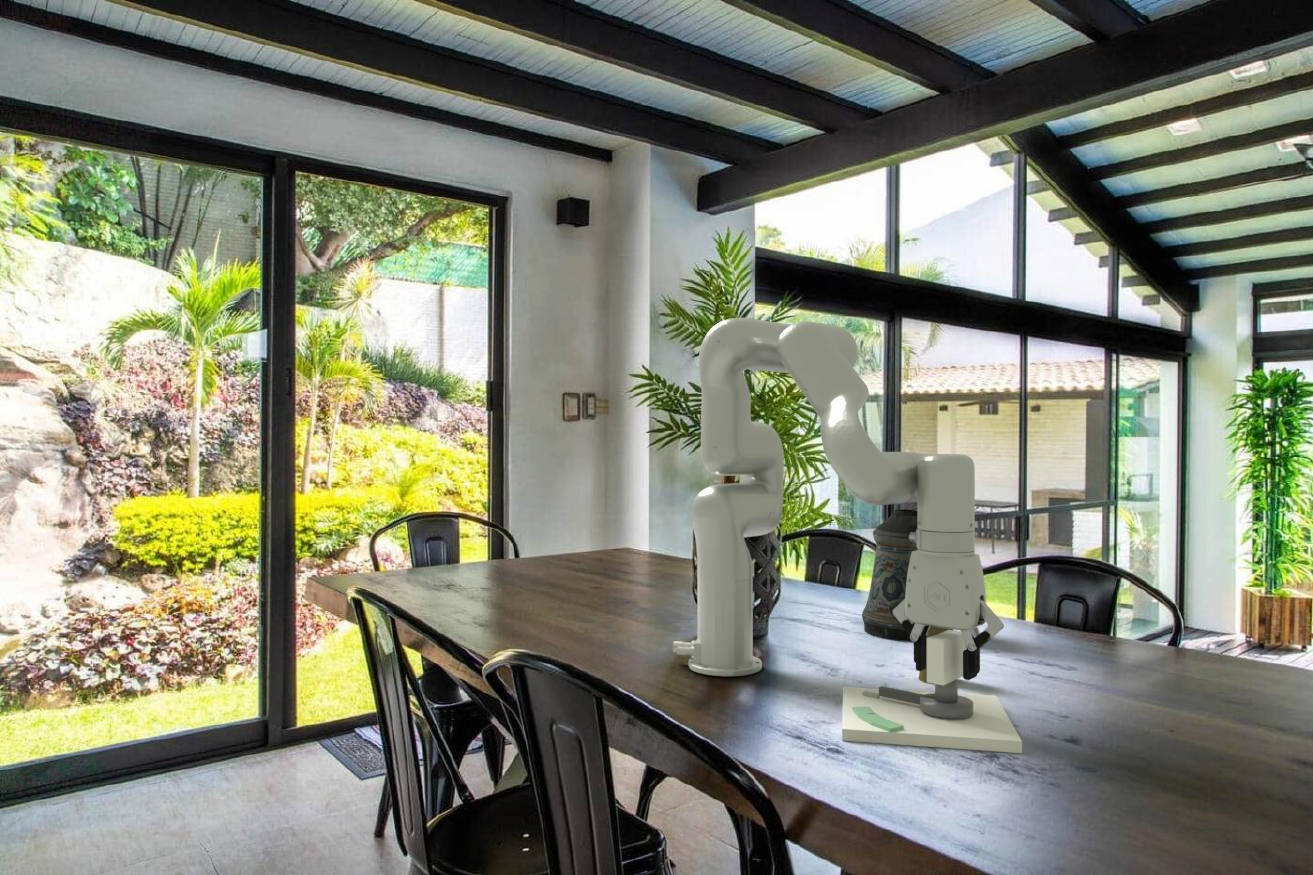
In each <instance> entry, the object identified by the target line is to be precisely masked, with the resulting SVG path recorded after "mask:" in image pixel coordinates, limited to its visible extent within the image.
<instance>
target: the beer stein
mask: <svg viewBox="0 0 1313 875" xmlns="http://www.w3.org/2000/svg"><path fill="white" fill-rule="evenodd" d="M916 529H918V509H917V510H915V509H894V511H893V513H892V514H891V515H890V516H889V517H888V518H887V519H886V520H884V521H883V522H882V523H880V524H879V525H877V527H876V528H875V529H874V530H873V531H872V536H873V540H874V541H875V545H876V546H875V555H874V561H873V562H874V563H873V568H872V576H871V582H870V589H869V593H868V596H867V601H866V604H865V607H864V608H863V610H862V612H861V617H862V621H863V626H864V628H863V629H864V633H865V634H868V635H869V634H870V635H869V636H871V635H872V636H871V637H875V636H876V638H879V639H883V640H891V641H899V642H900V641H903V642H913V641H912V640H911V639H910V635H909V634H908V633H907V631H906V630H905V629H904V628H903V626H902V623H900V622H899V620H898V619H897V618H896V617H895V616H894V614H893V610H894V609H895V608H896V607H897V606H898V605H899V604H900V603H901V602H902V601H903V600H904V599H905V594H906V582H907V574H908V568H909V562H910V557H911V553H912V551H918V548H917V547H916V543H915V542H911V541H910V540H909V534H910V533H911V532H914V533H915V532H916Z"/></svg>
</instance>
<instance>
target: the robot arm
mask: <svg viewBox="0 0 1313 875" xmlns="http://www.w3.org/2000/svg"><path fill="white" fill-rule="evenodd" d="M698 354H699V355H698V370H699V380H700V381H699V382H700V389H701V390H700V391H701V406H700V407H701V408H700V409H701V410H700V412H701V413H700V420H701V421H700V425H701V426H700V454H701V455H700V458H701V461H702V465H703V466H704V468H705V469H706V470H707V472H709V473H710V474H713V475H715V476H722V477H724V476H725V477H728V476H729V477H731V476H732V477H733V476H734V477H735V476H739V483H738V482H736V483H735V482H734V483H719V484H718V483H717V484H714V485H710V486H707V487H705V488H704V489H702V490H700V491H699V492H698V493H697V495H696V496H695V497H694V498H693V502H692V504H691V505H692V506H691V510H690V511H691V513H690V514H691V516H690V517H691V523H692V528H693V532H694V538H695V547H696V568H697V570H696V571H697V572H696V577H697V584H696V586H697V590H696V591H697V604H696V605H697V637H696V638H695V640H694V639H693V640H691V642H690V641H689V642H688V641H687V642H686V641H677V640H674V641H673V642H672V643H673V644H672V652H673V653H677V655H682V656H685V655H688V656H690V658H689V659H688V669H690V670H691V671H693V672H695V673H698V674H702V675H706V676H714V677H741V676H748V675H753V674H756V673H758V672H760V671H761V670H762V668H763V662H762V660H761V659H760V658H758V657H756V656H754V653H753V651H754V650H753V648H754V641H753V638H754V637H753V634H754V633H753V632H754V631H753V630H754V628H753V627H754V625H753V624H754V618H753V617H754V616H753V611H754V610H753V606H754V605H753V603H754V602H753V598H754V597H753V596H754V595H753V594H754V593H753V592H754V591H753V589H754V588H753V587H754V586H753V584H754V583H753V582H754V581H753V580H754V578H753V570H754V569H753V560H752V557H751V554H750V550H749V549H748V546H747V543H746V540H745V538H751V537H759V536H765V535H768V534H769V533H772V532H773V531H774V530H775V529H776V528H777V527H778V525H779V524H780V522H781V519H782V516H783V510H784V508H783V507H784V480H785V478H784V476H785V475H784V474H785V473H784V472H785V470H784V469H785V468H784V467H785V466H784V464H785V460H784V459H785V458H784V457H785V456H784V455H785V454H784V448H783V447H784V446H783V442H782V439H781V438H780V436H779V433H778V432H777V431H776V430H775V428H773V427H772V426H771V425H769V424H767V423H765V422H762V421H752V414H751V410H752V408H751V407H752V406H751V404H752V398H751V392H750V389H749V388H750V387H749V385H748V382H747V380H746V379H745V377H744V375H743V372H744V371H745V370H753V371H760V372H772V373H773V372H774V373H782V374H783V373H784V374H785V373H786V374H789V375H790V377H791V378H792V379H793V381H794V383H796V386H798V388H799V389H800V391H801V392H802V394H803V395H804V396H805V399H806V400H807V401H808V402H809V404H810V405H811V407H812V408H813V410H814V411H815V413H816V414H817V416H818V417H819V420H820V437H821V442H822V447H823V448H822V449H823V451H824V454H825V457H826V459H827V461H828V463H829V464H830V466H831V468H832V469H833V471H834V472H835V473H836V475H837V477H838V478H839V479H840V481H841V482H842V484H843V485H844V487H845V488H846V489H847V490H848V491H849V493H850V494H851V495H852V496H853V497H854V498H856V499H857V500H858V501H859V502H862V503H863V504H866V505H869V506H885V505H886V506H888V505H900V504H902V505H903V504H904V505H905V504H912V503H917V511H918V529H916V532H915V533H914V532H911V533H910V534H909V540H910V541H911V542H915V543H916V547H917V548H918V551H912V553H911V557H910V562H909V568H908V574H907V582H906V594H905V599H904V600H903V601H902V602H901V603H900V604H899V605H898V606H897V607H896V608H895V609H894V610H893V614H894V616H895V617H896V618H897V619H898V620H899V622H900V623H902V626H903V628H904V629H905V630H906V631H907V633H908V634H909V635H910V639H911V640H912V641H911V642H913V662H914V664H915V670H916V671H917V672H919V671H922V670H924V669H927V633H928V631H929V629H930V626H934V627H941V628H947V629H953V631H960V632H961V633H962V635H963V638H964V640H965V650H964V651H963V677H962V678H963V679H964V680H965V681H970V680H972V679H975V678H976V677H977V676H978V674H979V673H980V671H981V648H982V647H984V645H986V644H987V643H988V642H989V641H991V639H993V638H994V636H996V635H997V634H998V633H999V632H1000V631H1002V630H1003V628H1005V624H1004V622H1003V621H1002V620H1001V619H1000V618H999V617H998V615H996V613H995V612H994V611H993V610H992V609H991V607H989V605H988V604H987V594H986V584H985V576H984V571H983V565H982V561H981V557H980V554H979V553H976V548H975V547H976V540H975V538H976V531H975V529H976V528H975V526H976V525H975V524H976V522H975V521H976V520H975V519H976V517H975V515H976V514H975V512H976V508H975V507H976V504H975V502H976V500H975V499H976V496H975V494H976V492H975V488H976V487H975V486H976V485H975V484H976V482H975V481H976V478H975V473H976V472H975V470H976V469H975V462H974V460H973V459H972V458H971V457H970V456H969V455H966V454H959V453H931V454H926V453H925V454H924V453H917V452H909V451H880V449H879V448H878V447H877V446H876V444H875V443H874V442H873V441H872V439H871V437H870V435H868V433H867V432H866V430H865V429H864V427H863V424H862V423H861V419H860V416H859V411H860V410H861V409H862V408H863V407H864V406H865V404H866V402H867V400H868V398H869V393H870V391H869V388H868V386H867V384H866V383H865V381H864V380H863V378H862V377H861V376H860V374H859V373H858V372H857V370H856V369H855V368H854V367H855V365H856V364H857V360H858V354H859V353H858V345H857V342H856V340H855V338H854V337H853V335H852V334H851V333H850V331H849V330H847V329H845V328H844V327H841V326H839V325H835V324H830V323H829V324H828V323H823V322H815V321H809V320H808V321H799V322H796V323H792V324H791V323H782V322H775V321H769V320H762V319H758V318H757V319H756V318H750V317H749V318H748V317H730V318H728V319H724V320H721V321H719V322H718V323H716V324H715V325H713V326H712V327H711V328H710V329H709V331H707V333H706V335H705V336H704V338H703V340H702V342H701V345H700V348H699V353H698ZM985 623H987V627H986V628H984V630H982V632H980V629H979V627H978V626H983V625H984V624H985Z"/></svg>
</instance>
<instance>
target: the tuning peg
mask: <svg viewBox="0 0 1313 875" xmlns="http://www.w3.org/2000/svg"><path fill="white" fill-rule="evenodd" d="M964 650H966V643H965V640H964V638H963V635H962V633H961V631H960V630H953V631H952V630H947V631H945V632H942V633H939V634H936V635H934V636H931V637H928V638H927V682H928V683H927V684H929V683H933V684H932V685H934V692H935V693H931V694H925V695H923V694H918V693H913V692H908V691H909V690H905V691H903V690H904V689H898V688H893V687H888V686H884V685H882V686H880V687H879V686H878V689H879V696H882V697H887V698H891V699H896V700H901V701H905V702H910V703H915V704H919V705H920V710H921V711H922V712H924V713H926V714H928V715H931V716H935V717H941V718H950V719H960V718H967V717H970V716H972V715H973V701H972V700H970V699H968V698H966V697H963V696H959V695H958V694H959V692H958V691H959V689H958V688H959V679H961V678H963V651H964Z"/></svg>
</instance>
